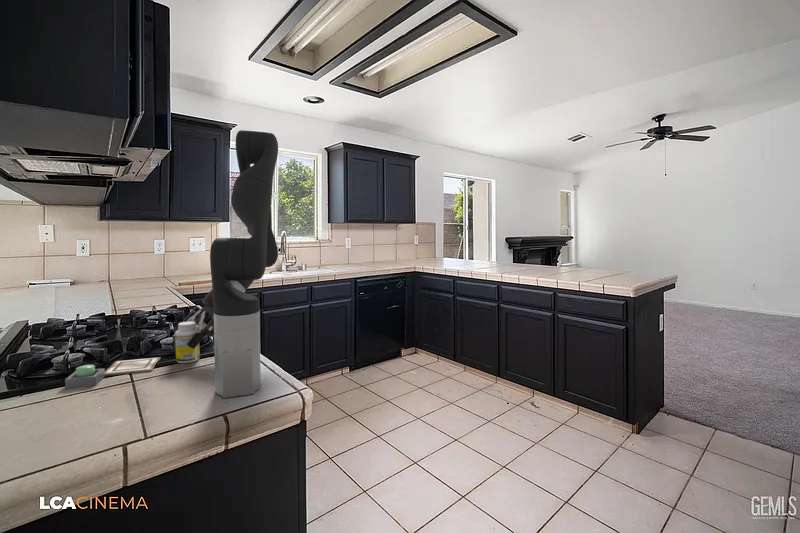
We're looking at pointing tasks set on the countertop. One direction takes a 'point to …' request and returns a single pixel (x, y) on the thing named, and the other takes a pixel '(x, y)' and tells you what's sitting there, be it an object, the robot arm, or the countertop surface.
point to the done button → (85, 371)
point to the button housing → (84, 379)
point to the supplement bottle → (182, 338)
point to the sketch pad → (132, 366)
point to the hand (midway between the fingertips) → (182, 343)
